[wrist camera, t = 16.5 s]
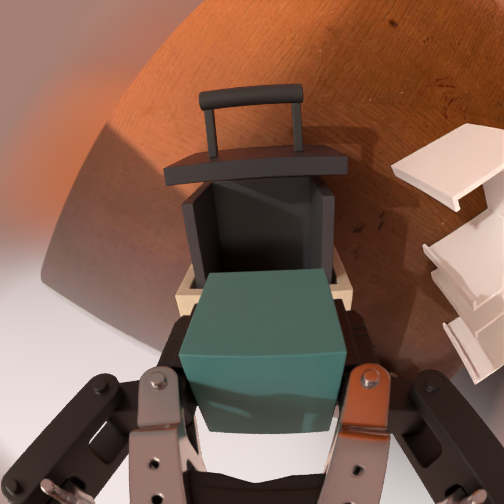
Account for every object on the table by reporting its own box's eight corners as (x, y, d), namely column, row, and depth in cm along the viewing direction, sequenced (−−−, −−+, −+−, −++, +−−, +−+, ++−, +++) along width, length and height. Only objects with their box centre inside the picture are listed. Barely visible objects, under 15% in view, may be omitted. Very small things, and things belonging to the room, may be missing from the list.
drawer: (188, 101, 22) (153, 95, 15) (322, 90, 21) (344, 78, 14) (213, 283, 30) (197, 333, 23) (324, 279, 29) (337, 330, 22)
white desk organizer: (499, 290, 29) (537, 336, 19) (443, 328, 32) (474, 384, 23) (466, 123, 21) (538, 138, 11) (390, 165, 24) (452, 197, 14)
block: (224, 352, 13) (209, 431, 9) (209, 272, 11) (177, 354, 7) (319, 350, 12) (329, 431, 8) (324, 267, 11) (348, 351, 7)
